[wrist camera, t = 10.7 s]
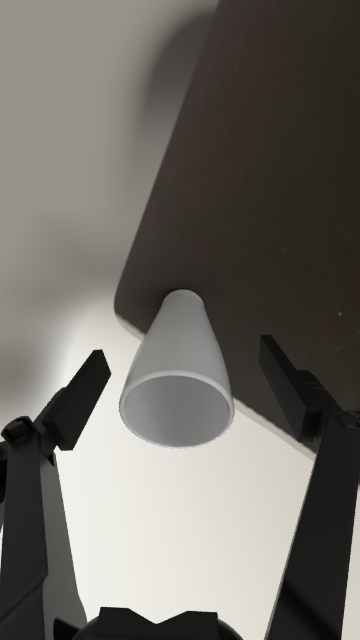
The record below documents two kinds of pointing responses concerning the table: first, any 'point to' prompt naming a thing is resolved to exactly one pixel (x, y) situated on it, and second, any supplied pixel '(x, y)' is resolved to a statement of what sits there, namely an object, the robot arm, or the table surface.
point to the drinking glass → (178, 379)
